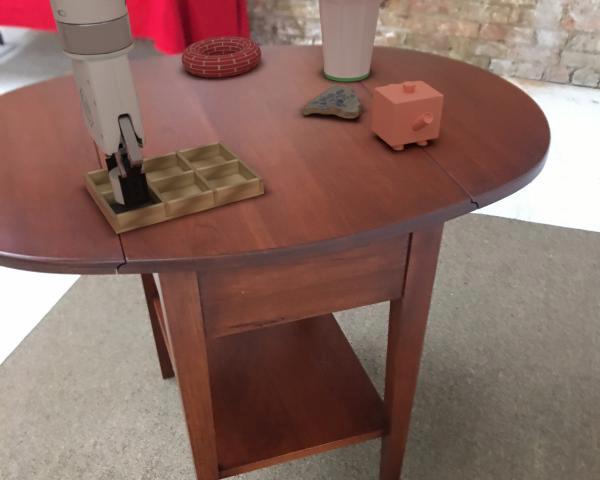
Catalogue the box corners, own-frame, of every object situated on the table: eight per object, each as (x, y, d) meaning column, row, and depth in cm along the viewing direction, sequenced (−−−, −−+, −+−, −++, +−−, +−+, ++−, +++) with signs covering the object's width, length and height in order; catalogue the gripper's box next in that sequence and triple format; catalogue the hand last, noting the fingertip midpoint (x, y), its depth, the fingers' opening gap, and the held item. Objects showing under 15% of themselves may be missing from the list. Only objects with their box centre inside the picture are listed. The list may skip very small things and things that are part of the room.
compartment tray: (116, 234, 78) (112, 217, 77) (86, 188, 87) (82, 173, 85) (264, 193, 85) (263, 178, 83) (222, 155, 94) (221, 140, 92)
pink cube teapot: (400, 162, 91) (406, 102, 85) (365, 131, 99) (368, 74, 93) (448, 153, 93) (457, 94, 87) (409, 123, 101) (415, 67, 95)
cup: (393, 71, 118) (401, -26, 107) (354, 91, 111) (358, -11, 100) (339, 58, 123) (341, -36, 112) (299, 76, 117) (297, -22, 106)
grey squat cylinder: (120, 208, 78) (114, 183, 76) (110, 193, 81) (104, 169, 78) (154, 199, 79) (149, 174, 77) (143, 185, 82) (138, 161, 80)
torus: (230, 49, 129) (228, 29, 126) (278, 64, 122) (277, 44, 119) (167, 68, 121) (163, 47, 118) (213, 86, 114) (211, 64, 111)
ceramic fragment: (355, 115, 99) (299, 96, 101) (351, 135, 101) (297, 115, 104) (381, 92, 105) (328, 74, 108) (377, 111, 108) (325, 93, 110)
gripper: (42, 20, 71) (84, 176, 84) (81, 63, 60) (123, 233, 73) (107, 10, 73) (138, 163, 86) (156, 49, 63) (183, 217, 76)
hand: (131, 194), depth 80 cm, fingers closed on grey squat cylinder, 4 cm apart
